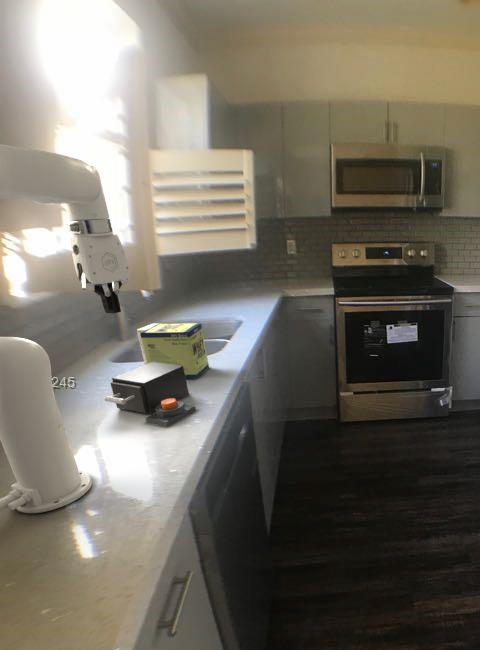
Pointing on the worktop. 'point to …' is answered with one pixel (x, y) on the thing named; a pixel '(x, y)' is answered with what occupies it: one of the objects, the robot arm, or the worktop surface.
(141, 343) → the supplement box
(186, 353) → the protein box
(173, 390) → the dark grey cabinet
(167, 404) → the button
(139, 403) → the drawer
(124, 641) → the worktop surface
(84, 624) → the worktop surface
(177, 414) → the block
